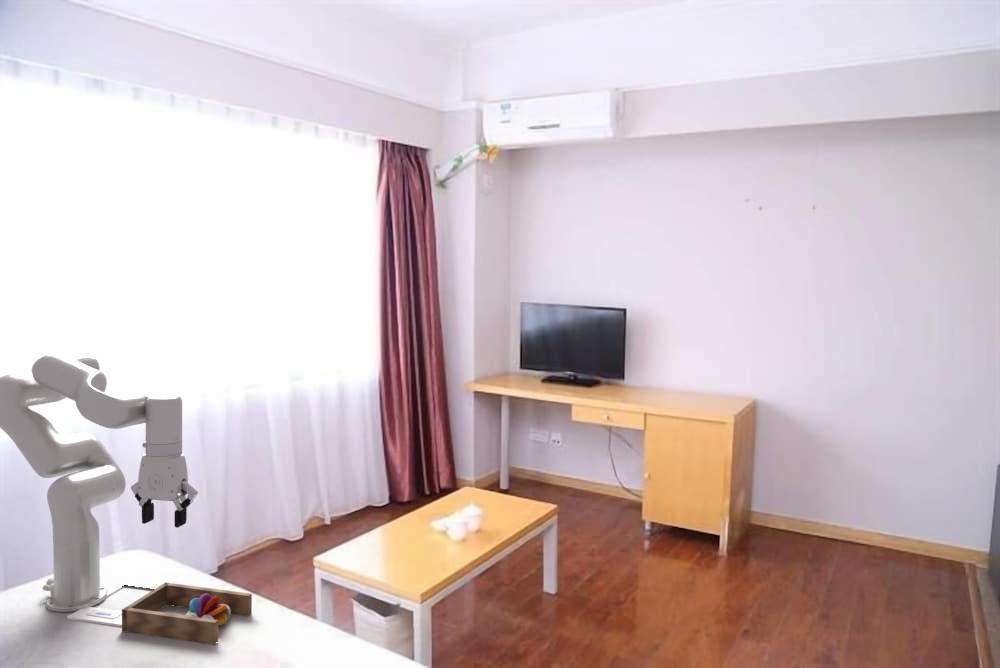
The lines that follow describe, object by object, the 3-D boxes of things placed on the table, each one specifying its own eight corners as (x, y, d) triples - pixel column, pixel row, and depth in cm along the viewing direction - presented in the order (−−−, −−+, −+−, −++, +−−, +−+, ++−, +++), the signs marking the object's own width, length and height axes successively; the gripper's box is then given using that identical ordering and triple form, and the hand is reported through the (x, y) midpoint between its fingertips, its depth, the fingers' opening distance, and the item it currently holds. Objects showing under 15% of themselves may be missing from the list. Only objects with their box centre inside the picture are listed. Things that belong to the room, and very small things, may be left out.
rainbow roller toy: (214, 637, 151) (214, 605, 150) (175, 631, 152) (175, 600, 152) (236, 619, 159) (236, 589, 158) (199, 614, 161) (199, 584, 160)
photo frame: (66, 615, 156) (124, 582, 174) (66, 620, 157) (124, 587, 174) (121, 623, 154) (174, 589, 171) (121, 628, 154) (174, 593, 171)
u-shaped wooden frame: (121, 631, 152) (121, 609, 151) (165, 602, 166) (165, 582, 165) (214, 645, 147) (214, 622, 147) (251, 614, 161) (251, 593, 161)
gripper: (118, 449, 153) (119, 525, 154) (187, 455, 149) (187, 533, 151) (142, 442, 160) (142, 514, 161) (208, 448, 157) (207, 522, 158)
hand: (164, 523), depth 156 cm, fingers open, 7 cm apart
